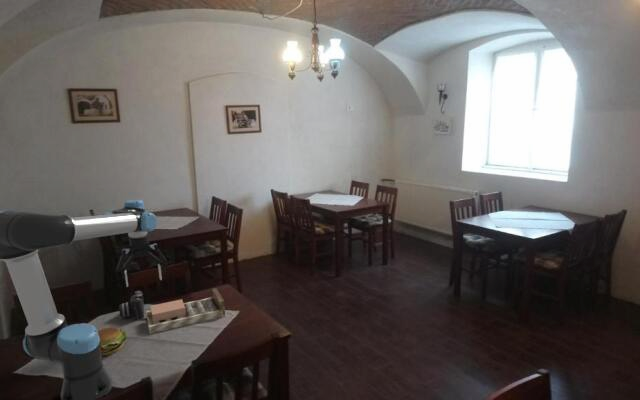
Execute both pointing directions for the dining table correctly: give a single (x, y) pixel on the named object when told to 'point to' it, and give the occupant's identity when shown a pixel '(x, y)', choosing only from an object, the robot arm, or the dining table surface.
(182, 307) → the slab
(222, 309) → the roller bed
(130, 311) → the camera
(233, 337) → the dining table surface
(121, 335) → the food
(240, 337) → the dining table surface
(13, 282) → the robot arm
